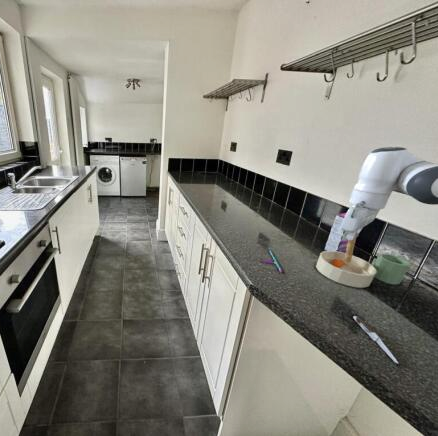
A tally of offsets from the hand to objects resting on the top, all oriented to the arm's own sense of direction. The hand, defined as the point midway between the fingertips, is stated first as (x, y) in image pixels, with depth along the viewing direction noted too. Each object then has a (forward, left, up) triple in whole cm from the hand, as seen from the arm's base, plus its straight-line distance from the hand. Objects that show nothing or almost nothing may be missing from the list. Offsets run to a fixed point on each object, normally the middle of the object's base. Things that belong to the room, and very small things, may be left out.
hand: (351, 237), depth 79 cm
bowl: (-2, +3, -13) cm, 14 cm away
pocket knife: (-17, +29, -14) cm, 36 cm away
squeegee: (+17, +17, -13) cm, 27 cm away
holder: (-11, -8, -13) cm, 19 cm away
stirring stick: (-2, -1, -10) cm, 10 cm away
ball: (+1, 0, -11) cm, 11 cm away
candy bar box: (+6, -17, -14) cm, 23 cm away
